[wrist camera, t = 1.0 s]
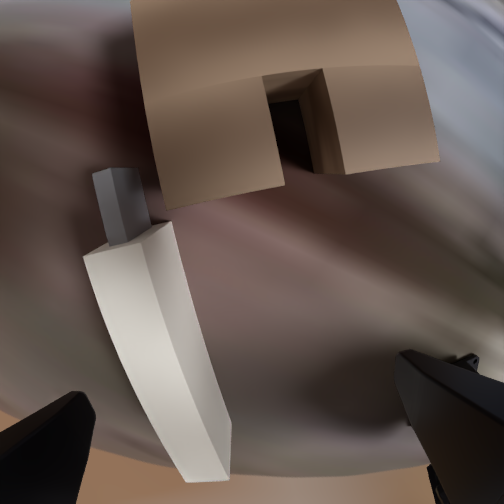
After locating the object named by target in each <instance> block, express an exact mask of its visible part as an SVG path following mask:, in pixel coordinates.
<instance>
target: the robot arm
mask: <svg viewBox="0 0 504 504" xmlns="http://www.w3.org/2000/svg"><path fill="white" fill-rule="evenodd" d="M478 363H479V357H478V356H477V355H472V356H470V357H468V358H466V359H463V360H461V361H459V362H456V363H454V364H449V363H447V362H444V361H441V360H438V359H436V358H433V357H430V356H428V355H425V354H422V353H420V352H417V351H414V350H412V349H408V350H405V351H401V352H398V353H397V355H396V360H395V372H394V381H395V385H396V387H397V390H398V392H399V395H400V397H401V400H402V402H403V405H404V407H405V410H406V413H407V415H408V418H409V421H410V423H411V426H412V428H413V430H414V431H415V433H416V435H417V437H418V439H419V441H420V443H421V445H422V447H423V449H424V451H425V453H426V455H427V456H428V458H429V460H430V462H431V464H430V465H429V466H428V467H427V471H428V474H429V480H430V483H431V487H432V491H433V494H434V499H435V503H436V504H504V383H503V382H500V381H497V380H494V379H491V378H488V377H485V376H483V375H480V374H479V373H478V372H477V368H478ZM95 421H96V414H95V411H94V409H93V407H92V405H91V403H90V401H89V399H88V397H87V395H86V394H85V393H84V392H82V391H71V392H69V393H67V394H66V395H64V396H62V397H61V398H59V399H57V400H55V401H54V402H52V403H50V404H49V405H47V406H45V407H43V408H42V409H40V410H38V411H37V412H35V413H33V414H31V415H30V416H28V417H26V418H24V419H23V420H21V421H19V422H18V423H16V424H14V425H12V426H11V427H9V428H7V429H5V430H3V431H2V432H0V504H76V501H77V497H78V493H79V490H80V486H81V482H82V478H83V475H84V471H85V468H86V464H87V461H88V456H89V451H90V446H91V441H92V436H93V430H94V425H95Z"/></svg>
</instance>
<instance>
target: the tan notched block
mask: <svg viewBox="0 0 504 504" xmlns="http://www.w3.org/2000/svg"><path fill="white" fill-rule="evenodd" d="M130 4H131V13H132V22H133V31H134V39H135V47H136V54H137V61H138V68H139V74H140V81H141V87H142V93H143V99H144V105H145V111H146V116H147V122H148V127H149V132H150V138H151V143H152V148H153V153H154V158H155V162H156V167H157V172H158V176H159V181H160V186H161V190H162V194H163V199H164V203H165V207H166V211H167V210H172V209H176V208H180V207H184V206H188V205H193V204H197V203H201V202H206V201H210V200H215V199H219V198H224V197H229V196H233V195H238V194H243V193H248V192H252V191H257V190H262V189H267V188H273V187H278V186H283V185H285V183H284V177H283V172H282V167H281V163H280V158H279V153H278V148H277V143H276V138H275V134H274V129H273V124H272V120H271V115H270V111H269V106H268V104H271V103H277V102H283V101H290V100H297V99H298V100H299V104H300V108H301V113H302V117H303V122H304V126H305V131H306V136H307V140H308V145H309V150H310V155H311V160H312V165H313V171H314V173H317V174H352V173H358V172H365V171H371V170H378V169H385V168H392V167H399V166H407V165H415V164H423V163H431V162H440V157H439V151H438V145H437V139H436V133H435V128H434V123H433V118H432V113H431V109H430V104H429V100H428V96H427V92H426V88H425V84H424V80H423V77H422V73H421V69H420V66H419V62H418V59H417V56H416V53H415V50H414V46H413V43H412V40H411V37H410V35H409V32H408V29H407V26H406V23H405V21H404V18H403V15H402V13H401V10H400V8H399V5H398V3H397V0H131V1H130Z"/></svg>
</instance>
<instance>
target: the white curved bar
mask: <svg viewBox="0 0 504 504" xmlns="http://www.w3.org/2000/svg"><path fill="white" fill-rule="evenodd" d="M92 176H93V181H94V186H95V190H96V195H97V199H98V204H99V208H100V212H101V216H102V220H103V224H104V228H105V232H106V236H107V240H108V242H107V243H105V244H104V245H102V246H100V247H98V248H97V249H95V250H93V251H91V252H90V253H88V254H86V255H85V256H83V259H84V262H85V265H86V269H87V272H88V275H89V278H90V281H91V284H92V287H93V290H94V293H95V296H96V299H97V302H98V305H99V307H100V310H101V313H102V316H103V318H104V321H105V323H106V326H107V329H108V331H109V334H110V336H111V339H112V341H113V344H114V346H115V348H116V351H117V353H118V356H119V358H120V360H121V362H122V365H123V367H124V369H125V371H126V374H127V376H128V378H129V380H130V382H131V384H132V386H133V389H134V391H135V393H136V395H137V397H138V399H139V401H140V403H141V405H142V407H143V409H144V411H145V413H146V415H147V416H148V418H149V420H150V422H151V424H152V426H153V428H154V430H155V431H156V433H157V435H158V437H159V438H160V440H161V442H162V444H163V445H164V447H165V449H166V451H167V452H168V454H169V456H170V457H171V459H172V461H173V462H174V464H175V466H176V467H177V469H178V470H179V472H180V474H181V475H182V477H183V478H184V480H185V481H186V482H208V481H209V482H210V481H226V480H230V479H229V478H230V454H231V428H232V423H231V420H230V417H229V415H228V412H227V409H226V406H225V403H224V400H223V397H222V394H221V392H220V389H219V386H218V383H217V380H216V377H215V374H214V371H213V367H212V364H211V361H210V358H209V355H208V352H207V349H206V345H205V342H204V339H203V336H202V332H201V329H200V326H199V322H198V319H197V316H196V312H195V309H194V305H193V302H192V298H191V295H190V291H189V288H188V284H187V280H186V277H185V273H184V269H183V265H182V262H181V258H180V254H179V250H178V246H177V242H176V238H175V234H174V230H173V226H172V222H171V221H170V222H165V223H161V224H157V225H153V226H151V222H150V218H149V213H148V209H147V205H146V201H145V196H144V192H143V187H142V183H141V178H140V174H139V169H138V168H108V169H105V170H102V171H99V172H96V173H93V174H92Z"/></svg>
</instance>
